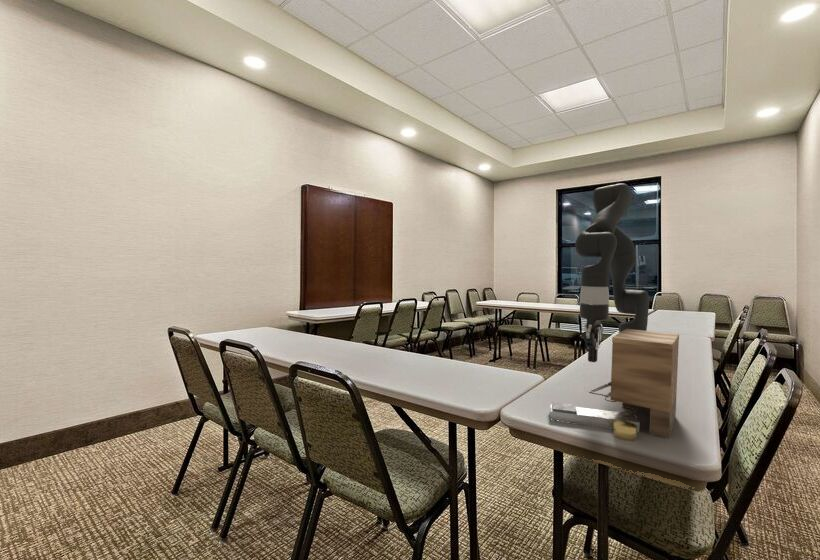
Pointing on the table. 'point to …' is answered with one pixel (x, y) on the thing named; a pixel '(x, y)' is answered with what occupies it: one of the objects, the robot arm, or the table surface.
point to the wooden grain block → (646, 375)
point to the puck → (625, 430)
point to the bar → (589, 416)
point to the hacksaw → (602, 394)
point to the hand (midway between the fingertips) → (592, 361)
